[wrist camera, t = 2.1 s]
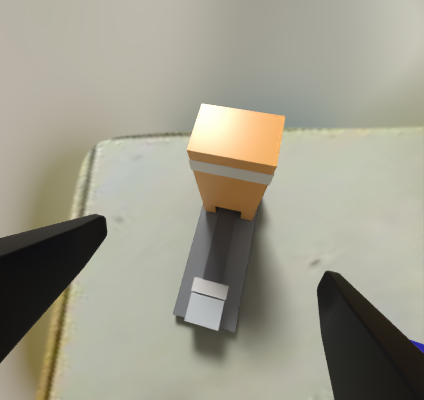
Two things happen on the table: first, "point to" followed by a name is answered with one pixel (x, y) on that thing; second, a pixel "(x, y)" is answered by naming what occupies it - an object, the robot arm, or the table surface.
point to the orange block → (234, 156)
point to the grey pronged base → (216, 270)
